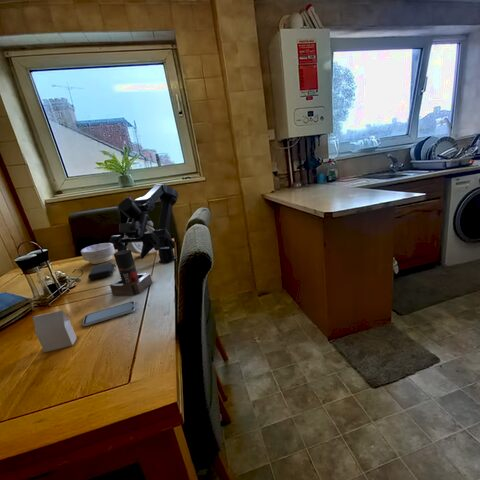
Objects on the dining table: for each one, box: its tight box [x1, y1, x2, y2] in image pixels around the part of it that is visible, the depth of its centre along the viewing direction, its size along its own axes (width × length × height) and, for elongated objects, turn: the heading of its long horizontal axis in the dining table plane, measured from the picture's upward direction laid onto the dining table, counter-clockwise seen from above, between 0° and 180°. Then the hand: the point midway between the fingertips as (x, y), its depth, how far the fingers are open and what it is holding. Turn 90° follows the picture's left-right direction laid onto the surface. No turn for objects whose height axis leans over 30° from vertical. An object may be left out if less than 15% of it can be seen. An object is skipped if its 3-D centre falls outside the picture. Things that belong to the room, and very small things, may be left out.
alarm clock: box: [123, 217, 157, 259], centre depth 147 cm, size 16×9×22 cm, turn 147°
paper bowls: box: [80, 242, 116, 265], centre depth 148 cm, size 15×15×8 cm
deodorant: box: [113, 249, 139, 283], centre depth 106 cm, size 6×6×15 cm
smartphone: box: [82, 301, 136, 327], centre depth 90 cm, size 7×1×15 cm
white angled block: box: [32, 309, 78, 353], centre depth 75 cm, size 4×7×10 cm, turn 108°
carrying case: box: [87, 262, 117, 281], centre depth 129 cm, size 11×3×15 cm
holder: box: [109, 272, 153, 297], centre depth 108 cm, size 11×11×4 cm
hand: (130, 259), depth 108 cm, fingers open, 9 cm apart
